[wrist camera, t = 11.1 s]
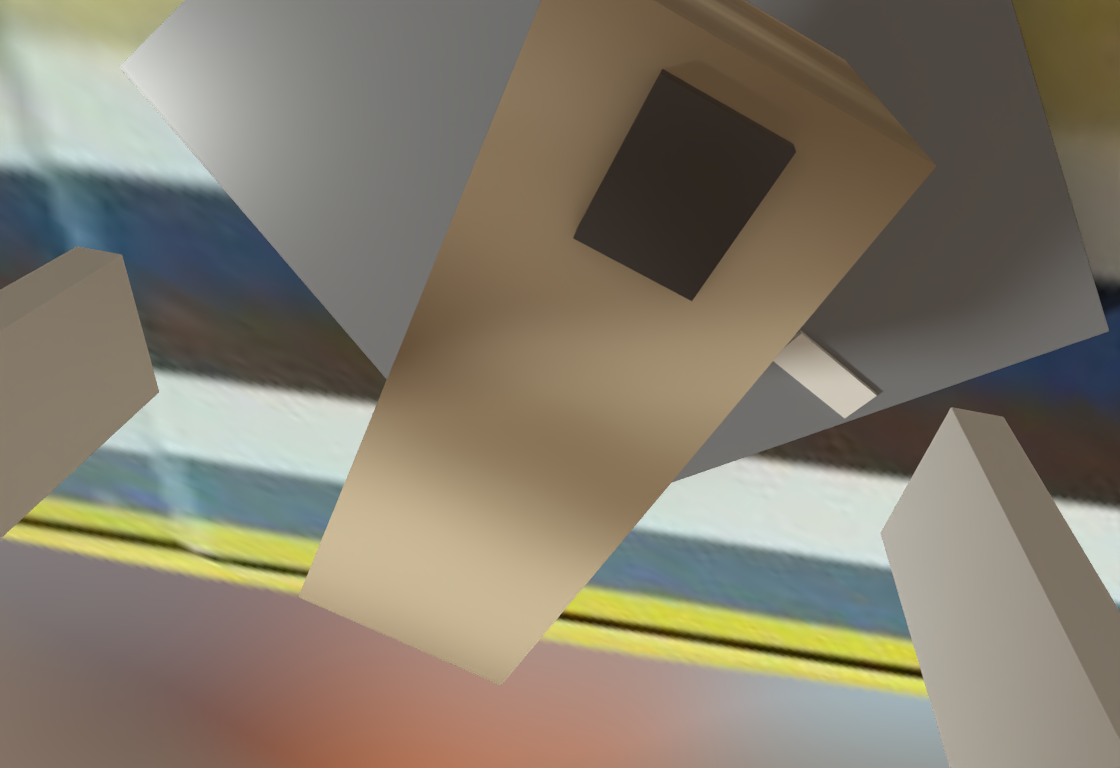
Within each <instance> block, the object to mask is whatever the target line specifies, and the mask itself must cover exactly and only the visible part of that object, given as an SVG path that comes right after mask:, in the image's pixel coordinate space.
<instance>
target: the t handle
mask: <svg viewBox="0 0 1120 768" xmlns="http://www.w3.org/2000/svg"><path fill="white" fill-rule="evenodd" d="M935 167H936V165H935V164H934V162H933V161H932V160H931V159H930V158H929V157H928V155H927V154H926V153H925V152H924V151H923V150H922V148H921V147H920V146H919V145H918V144H917V143H916V142H915V140H914V139H913V138H912V137H911V136H910V135H909V133H908V132H907V131H906V130H905V129H904V128H903V127H902V125H901V124H900V123H899V122H898V121H897V120H896V118H895V117H894V116H893V115H892V114H891V113H890V111H889V110H888V109H887V108H886V107H885V106H884V105H883V103H882V102H881V101H880V100H879V99H878V98H877V96H876V95H875V94H874V93H873V92H872V91H871V89H870V88H869V87H868V86H867V85H866V84H865V83H864V81H863V80H862V79H861V78H860V77H859V76H858V74H857V73H856V72H855V71H854V70H853V69H852V67H851V66H850V65H849V64H848V63H847V62H846V61H845V60H844V59H843V58H841V57H839V56H837V55H836V54H834V53H832V52H831V51H829V50H827V49H826V48H824V47H822V46H821V45H819V44H817V43H816V42H814V41H812V40H811V39H809V38H807V37H806V36H804V35H802V34H801V33H799V32H797V31H796V30H794V29H792V28H791V27H789V26H787V25H785V24H784V23H782V22H780V21H779V20H777V19H775V18H774V17H772V16H770V15H769V14H767V13H765V12H764V11H762V10H760V9H759V8H757V7H755V6H754V5H752V4H750V3H749V2H747V1H745V0H541V2H540V5H539V7H538V10H537V12H536V14H535V17H534V19H533V22H532V24H531V27H530V29H529V32H528V34H527V37H526V39H525V42H524V44H523V46H522V49H521V51H520V54H519V56H518V59H517V61H516V64H515V66H514V69H513V71H512V73H511V76H510V78H509V81H508V83H507V86H506V88H505V91H504V93H503V96H502V98H501V101H500V103H499V105H498V108H497V110H496V113H495V115H494V118H493V120H492V123H491V125H490V128H489V130H488V132H487V135H486V137H485V140H484V142H483V145H482V147H481V150H480V152H479V155H478V157H477V160H476V162H475V164H474V167H473V169H472V172H471V174H470V177H469V179H468V182H467V184H466V187H465V189H464V191H463V194H462V196H461V199H460V201H459V204H458V206H457V209H456V211H455V214H454V216H453V219H452V221H451V223H450V226H449V228H448V231H447V233H446V236H445V238H444V241H443V243H442V246H441V248H440V250H439V253H438V255H437V258H436V260H435V263H434V265H433V268H432V270H431V273H430V275H429V277H428V280H427V282H426V285H425V287H424V290H423V292H422V295H421V297H420V300H419V302H418V305H417V307H416V309H415V312H414V314H413V317H412V319H411V322H410V324H409V327H408V329H407V332H406V334H405V336H404V339H403V341H402V344H401V346H400V349H399V351H398V354H397V356H396V359H395V361H394V364H393V366H392V368H391V371H390V373H389V376H388V378H387V381H386V383H385V386H384V388H383V391H382V393H381V395H380V398H379V400H378V403H377V405H376V408H375V410H374V413H373V415H372V418H371V420H370V423H369V425H368V427H367V430H366V432H365V435H364V437H363V440H362V442H361V445H360V447H359V450H358V452H357V454H356V457H355V459H354V462H353V464H352V467H351V469H350V472H349V474H348V477H347V479H346V482H345V484H344V486H343V489H342V491H341V494H340V496H339V499H338V501H337V504H336V506H335V509H334V511H333V513H332V516H331V518H330V521H329V523H328V526H327V528H326V531H325V533H324V536H323V538H322V541H321V543H320V545H319V548H318V550H317V553H316V555H315V558H314V560H313V563H312V565H311V568H310V570H309V572H308V575H307V577H306V580H305V582H304V585H303V587H302V590H301V592H300V595H299V597H300V598H302V599H304V600H306V601H309V602H311V603H313V604H316V605H318V606H320V607H322V608H325V609H327V610H329V611H332V612H334V613H336V614H338V615H341V616H343V617H345V618H348V619H350V620H352V621H355V622H357V623H359V624H362V625H364V626H366V627H368V628H371V629H373V630H375V631H377V632H380V633H382V634H384V635H386V636H389V637H391V638H393V639H396V640H398V641H400V642H403V643H405V644H407V645H409V646H411V647H414V648H416V649H418V650H421V651H423V652H425V653H428V654H430V655H432V656H435V657H437V658H439V659H441V660H444V661H446V662H448V663H450V664H453V665H455V666H457V667H459V668H462V669H464V670H466V671H469V672H471V673H473V674H475V675H478V676H480V677H482V678H485V679H487V680H489V681H491V682H494V683H496V684H498V685H502V684H503V683H504V681H505V680H506V679H507V678H508V677H509V675H510V674H511V673H512V672H513V671H514V669H515V668H516V667H517V666H518V665H519V663H520V662H521V661H522V660H523V659H524V658H525V656H526V655H527V654H528V653H529V652H530V650H531V649H532V648H533V647H534V646H535V644H536V643H537V642H538V641H539V640H540V638H541V637H542V636H543V635H544V634H545V632H546V631H547V630H548V629H549V628H550V627H551V625H552V624H553V623H554V622H555V621H556V619H557V618H558V617H559V616H560V615H561V613H562V612H563V611H564V610H565V609H566V607H567V606H568V605H569V604H570V603H571V601H572V600H573V599H574V598H575V597H576V595H577V594H578V593H579V592H580V591H581V590H582V588H583V587H584V586H585V585H586V584H587V582H588V581H589V580H590V579H591V578H592V576H593V575H594V574H595V573H596V572H597V570H598V569H599V568H600V567H601V566H602V564H603V563H604V562H605V561H606V560H607V559H608V557H609V556H610V555H611V554H612V553H613V551H614V550H615V549H616V548H617V547H618V545H619V544H620V543H621V542H622V541H623V539H624V538H625V537H626V536H627V535H628V533H629V532H630V531H631V530H632V529H633V528H634V526H635V525H636V524H637V523H638V522H639V520H640V519H641V518H642V517H643V516H644V514H645V513H646V512H647V511H648V510H649V508H650V507H651V506H652V505H653V504H654V502H655V501H656V500H657V499H658V498H659V496H660V495H661V494H662V493H663V492H664V491H665V489H666V488H667V487H668V486H669V485H670V483H671V482H672V481H673V480H674V479H675V477H676V476H677V475H678V474H679V473H680V471H681V470H682V469H683V468H684V467H685V465H686V464H687V463H688V462H689V461H690V460H691V458H692V457H693V456H694V455H695V454H696V452H697V451H698V450H699V449H700V448H701V446H702V445H703V444H704V443H705V442H706V440H707V439H708V438H709V437H710V436H711V434H712V433H713V432H714V431H715V430H716V429H717V427H718V426H719V425H720V424H721V423H722V421H723V420H724V419H725V418H726V417H727V415H728V414H729V413H730V412H731V411H732V409H733V408H734V407H735V406H736V405H737V403H738V402H739V401H740V400H741V399H742V397H743V396H744V395H745V394H746V393H747V392H748V390H749V389H750V388H751V387H752V386H753V384H754V383H755V382H756V381H757V380H758V378H759V377H760V376H761V375H762V374H763V372H764V371H765V370H766V369H767V368H768V366H769V365H770V364H771V363H772V362H773V361H774V359H775V358H776V357H777V356H778V355H779V353H780V352H781V351H782V350H783V349H784V347H785V346H786V345H787V344H788V343H789V341H790V340H791V339H792V338H793V337H794V335H795V334H796V333H797V332H798V331H799V329H800V328H801V327H802V326H803V325H804V324H805V322H806V321H807V320H808V319H809V318H810V316H811V315H812V314H813V313H814V312H815V310H816V309H817V308H818V307H819V306H820V304H821V303H822V302H823V301H824V300H825V298H826V297H827V296H828V295H829V294H830V293H831V291H832V290H833V289H834V288H835V287H836V285H837V284H838V283H839V282H840V281H841V279H842V278H843V277H844V276H845V275H846V273H847V272H848V271H849V270H850V269H851V267H852V266H853V265H854V264H855V263H856V262H857V260H858V259H859V258H860V257H861V256H862V254H863V253H864V252H865V251H866V250H867V248H868V247H869V246H870V245H871V244H872V242H873V241H874V240H875V239H876V238H877V236H878V235H879V234H880V233H881V232H882V230H883V229H884V228H885V227H886V226H887V225H888V223H889V222H890V221H891V220H892V219H893V217H894V216H895V215H896V214H897V213H898V211H899V210H900V209H901V208H902V207H903V205H904V204H905V203H906V202H907V201H908V199H909V198H910V197H911V196H912V195H913V194H914V192H915V191H916V190H917V189H918V188H919V186H920V185H921V184H922V183H923V182H924V180H925V179H926V178H927V177H928V176H929V174H930V173H931V172H932V171H933V170H934V168H935Z"/></svg>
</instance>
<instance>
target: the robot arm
mask: <svg viewBox="0 0 1120 768" xmlns="http://www.w3.org/2000/svg"><path fill="white" fill-rule="evenodd" d="M157 393H159V390H158V386H157V382H156V379H155V375H154V371H153V368H152V364H151V360H150V357H149V353H148V349H147V345H146V342H145V338H144V334H143V331H142V327H141V323H140V320H139V316H138V312H137V309H136V305H135V301H134V297H133V294H132V290H131V286H130V283H129V279H128V275H127V272H126V268H125V264H124V261H123V257H122V255H120V254H115V253H110V252H104V251H99V250H93V249H88V248H82V247H75V248H74V249H72V250H70V251H68V252H67V253H65V254H63V255H61V256H59V257H58V258H56V259H54V260H52V261H51V262H49V263H47V264H45V265H43V266H42V267H40V268H38V269H36V270H35V271H33V272H31V273H29V274H28V275H26V276H24V277H22V278H20V279H19V280H17V281H15V282H13V283H12V284H10V285H8V286H6V287H5V288H3V289H1V290H0V539H1V538H2V537H3V536H4V535H5V534H6V533H7V532H8V531H9V530H10V529H11V528H12V527H14V526H15V525H16V524H17V523H18V522H19V521H20V520H21V519H22V518H23V517H24V516H25V515H27V514H28V513H29V512H30V511H31V510H32V509H33V508H34V507H35V506H36V505H37V504H38V503H40V502H41V501H42V500H43V499H44V498H45V497H46V496H47V495H48V494H49V493H50V492H51V491H53V490H54V489H55V488H56V487H57V486H58V485H59V484H60V483H61V482H62V481H63V480H64V479H66V478H67V477H68V476H69V475H70V474H71V473H72V472H73V471H74V470H75V469H76V468H77V467H78V466H80V465H81V464H82V463H83V462H84V461H85V460H86V459H87V458H88V457H89V456H90V455H91V454H93V453H94V452H95V451H96V450H97V449H98V448H99V447H100V446H101V445H102V444H103V443H104V442H106V441H107V440H108V439H109V438H110V437H111V436H112V435H113V434H114V433H115V432H116V431H117V430H119V429H120V428H121V427H122V426H123V425H124V424H125V423H126V422H127V421H128V420H129V419H130V418H132V417H133V416H134V415H135V414H136V413H137V412H138V411H139V410H140V409H141V408H142V407H143V406H145V405H146V404H147V403H148V402H149V401H150V400H151V399H152V398H153V397H154V396H155V395H156V394H157ZM881 536H882V540H883V543H884V546H885V550H886V553H887V557H888V560H889V563H890V567H891V570H892V574H893V577H894V580H895V584H896V587H897V591H898V594H899V597H900V601H901V604H902V608H903V611H904V614H905V618H906V621H907V624H908V628H909V631H910V635H911V638H912V641H913V645H914V648H915V652H916V655H917V658H918V662H919V665H920V669H921V672H922V675H923V679H924V682H925V686H926V689H927V692H928V696H929V699H930V702H931V706H932V709H933V713H934V716H935V719H936V723H937V726H938V729H939V733H940V736H941V740H942V743H943V747H944V750H945V753H946V757H947V760H948V763H949V767H950V768H1120V611H1119V610H1118V608H1117V606H1116V605H1115V603H1114V601H1113V600H1112V598H1111V596H1110V594H1109V593H1108V591H1107V589H1106V588H1105V586H1104V584H1103V583H1102V581H1101V579H1100V578H1099V576H1098V574H1097V573H1096V571H1095V569H1094V568H1093V566H1092V564H1091V563H1090V561H1089V559H1088V558H1087V556H1086V554H1085V553H1084V551H1083V549H1082V548H1081V546H1080V544H1079V543H1078V541H1077V539H1076V538H1075V536H1074V534H1073V533H1072V531H1071V529H1070V528H1069V526H1068V524H1067V523H1066V521H1065V519H1064V518H1063V516H1062V514H1061V513H1060V511H1059V509H1058V507H1057V506H1056V504H1055V502H1054V501H1053V499H1052V497H1051V496H1050V494H1049V492H1048V491H1047V489H1046V487H1045V486H1044V484H1043V482H1042V481H1041V479H1040V477H1039V476H1038V474H1037V472H1036V471H1035V469H1034V467H1033V466H1032V464H1031V462H1030V461H1029V459H1028V457H1027V456H1026V454H1025V452H1024V451H1023V449H1022V447H1021V446H1020V444H1019V442H1018V441H1017V439H1016V437H1015V436H1014V434H1013V432H1012V431H1011V429H1010V427H1009V426H1008V424H1007V422H1006V420H1005V419H1004V417H1001V416H996V415H990V414H985V413H979V412H974V411H968V410H963V409H958V408H952V407H951V409H950V410H949V412H948V414H947V416H946V417H945V419H944V421H943V423H942V425H941V426H940V428H939V430H938V432H937V433H936V435H935V437H934V439H933V441H932V442H931V444H930V446H929V448H928V449H927V451H926V453H925V455H924V457H923V458H922V460H921V462H920V464H919V466H918V467H917V469H916V471H915V473H914V474H913V476H912V478H911V480H910V482H909V483H908V485H907V487H906V489H905V490H904V492H903V494H902V496H901V498H900V499H899V501H898V503H897V505H896V506H895V508H894V510H893V512H892V514H891V515H890V517H889V519H888V521H887V522H886V524H885V526H884V528H883V530H882V531H881Z"/></svg>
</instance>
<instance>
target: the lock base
mask: <svg viewBox="0 0 1120 768" xmlns="http://www.w3.org/2000/svg"><path fill="white" fill-rule="evenodd" d="M745 1H747V2H749V3H750V4H752V5H754V6H755V7H757V8H759V9H760V10H762V11H764V12H765V13H767V14H769V15H770V16H772V17H774V18H775V19H777V20H779V21H780V22H782V23H784V24H785V25H787V26H789V27H791V28H792V29H794V30H796V31H797V32H799V33H801V34H802V35H804V36H806V37H807V38H809V39H811V40H812V41H814V42H816V43H817V44H819V45H821V46H822V47H824V48H826V49H827V50H829V51H831V52H832V53H834V54H836V55H837V56H839V57H841V58H843V59H844V60H845V61H846V62H847V63H848V64H849V65H850V66H851V67H852V69H853V70H854V71H855V72H856V73H857V74H858V76H859V77H860V78H861V79H862V80H863V81H864V83H865V84H866V85H867V86H868V87H869V88H870V89H871V91H872V92H873V93H874V94H875V95H876V96H877V98H878V99H879V100H880V101H881V102H882V103H883V105H884V106H885V107H886V108H887V109H888V110H889V111H890V113H891V114H892V115H893V116H894V117H895V118H896V120H897V121H898V122H899V123H900V124H901V125H902V127H903V128H904V129H905V130H906V131H907V132H908V133H909V135H910V136H911V137H912V138H913V139H914V140H915V142H916V143H917V144H918V145H919V146H920V147H921V148H922V150H923V151H924V152H925V153H926V154H927V155H928V157H929V158H930V159H931V160H932V161H933V162H934V164H935V165H936V167H935V168H934V170H933V171H932V172H931V173H930V174H929V176H928V177H927V178H926V179H925V180H924V182H923V183H922V184H921V185H920V186H919V188H918V189H917V190H916V191H915V192H914V194H913V195H912V196H911V197H910V198H909V199H908V201H907V202H906V203H905V204H904V205H903V207H902V208H901V209H900V210H899V211H898V213H897V214H896V215H895V216H894V217H893V219H892V220H891V221H890V222H889V223H888V225H887V226H886V227H885V228H884V229H883V230H882V232H881V233H880V234H879V235H878V236H877V238H876V239H875V240H874V241H873V242H872V244H871V245H870V246H869V247H868V248H867V250H866V251H865V252H864V253H863V254H862V256H861V257H860V258H859V259H858V260H857V262H856V263H855V264H854V265H853V266H852V267H851V269H850V270H849V271H848V272H847V273H846V275H845V276H844V277H843V278H842V279H841V281H840V282H839V283H838V284H837V285H836V287H835V288H834V289H833V290H832V291H831V293H830V294H829V295H828V296H827V297H826V298H825V300H824V301H823V302H822V303H821V304H820V306H819V307H818V308H817V309H816V310H815V312H814V313H813V314H812V315H811V316H810V318H809V319H808V320H807V321H806V322H805V324H804V325H803V326H802V327H801V328H800V329H799V331H798V332H797V333H796V334H795V335H794V337H793V338H792V339H791V340H790V341H789V343H788V344H787V345H786V346H785V347H784V349H783V350H782V351H781V352H780V353H779V355H778V356H777V357H776V358H775V359H774V361H773V362H772V363H771V364H770V365H769V366H768V368H767V369H766V370H765V371H764V372H763V374H762V375H761V376H760V377H759V378H758V380H757V381H756V382H755V383H754V384H753V386H752V387H751V388H750V389H749V390H748V392H747V393H746V394H745V395H744V396H743V397H742V399H741V400H740V401H739V402H738V403H737V405H736V406H735V407H734V408H733V409H732V411H731V412H730V413H729V414H728V415H727V417H726V418H725V419H724V420H723V421H722V423H721V424H720V425H719V426H718V427H717V429H716V430H715V431H714V432H713V433H712V434H711V436H710V437H709V438H708V439H707V440H706V442H705V443H704V444H703V445H702V446H701V448H700V449H699V450H698V451H697V452H696V454H695V455H694V456H693V457H692V458H691V460H690V461H689V462H688V463H687V464H686V465H685V467H684V468H683V469H682V470H681V471H680V473H679V474H678V475H677V476H676V477H675V479H674V480H673V481H672V482H674V481H677V480H680V479H683V478H686V477H689V476H692V475H695V474H698V473H700V472H703V471H706V470H709V469H712V468H715V467H718V466H721V465H724V464H726V463H729V462H732V461H735V460H738V459H741V458H744V457H747V456H750V455H752V454H755V453H758V452H761V451H764V450H767V449H770V448H773V447H776V446H778V445H781V444H784V443H787V442H790V441H793V440H796V439H799V438H802V437H804V436H807V435H810V434H813V433H816V432H819V431H822V430H825V429H828V428H831V427H833V426H836V425H839V424H842V423H845V422H848V421H851V420H854V419H857V418H859V417H862V416H865V415H868V414H871V413H874V412H877V411H880V410H883V409H885V408H888V407H891V406H894V405H897V404H900V403H903V402H906V401H909V400H911V399H914V398H917V397H920V396H923V395H926V394H929V393H932V392H935V391H937V390H940V389H943V388H946V387H949V386H952V385H955V384H958V383H961V382H963V381H966V380H969V379H972V378H975V377H978V376H981V375H984V374H987V373H989V372H992V371H995V370H998V369H1001V368H1004V367H1007V366H1010V365H1013V364H1015V363H1018V362H1021V361H1024V360H1027V359H1030V358H1033V357H1036V356H1039V355H1041V354H1044V353H1047V352H1050V351H1053V350H1056V349H1059V348H1062V347H1065V346H1067V345H1070V344H1073V343H1076V342H1079V341H1082V340H1085V339H1088V338H1091V337H1093V336H1096V335H1099V334H1102V333H1105V332H1108V331H1109V330H1108V326H1107V323H1106V319H1105V316H1104V313H1103V309H1102V306H1101V302H1100V299H1099V295H1098V292H1097V289H1096V285H1095V282H1094V278H1093V275H1092V272H1091V268H1090V265H1089V261H1088V258H1087V255H1086V251H1085V248H1084V244H1083V241H1082V238H1081V234H1080V231H1079V227H1078V224H1077V221H1076V217H1075V214H1074V210H1073V207H1072V204H1071V200H1070V197H1069V193H1068V190H1067V187H1066V183H1065V180H1064V176H1063V173H1062V170H1061V166H1060V163H1059V159H1058V156H1057V153H1056V149H1055V146H1054V142H1053V139H1052V136H1051V132H1050V129H1049V125H1048V122H1047V119H1046V115H1045V112H1044V108H1043V105H1042V102H1041V98H1040V95H1039V91H1038V88H1037V85H1036V81H1035V78H1034V74H1033V71H1032V68H1031V64H1030V61H1029V57H1028V54H1027V51H1026V47H1025V44H1024V40H1023V37H1022V34H1021V30H1020V27H1019V23H1018V20H1017V17H1016V13H1015V10H1014V6H1013V3H1012V0H745ZM540 2H541V0H185V1H184V2H183V3H182V4H181V5H180V6H179V7H178V8H177V9H176V10H175V11H174V12H173V13H172V14H171V15H170V16H169V17H168V18H167V19H166V20H165V21H164V22H163V23H162V24H161V25H160V26H159V27H158V28H157V29H156V30H155V31H154V32H153V33H152V34H151V35H150V36H149V37H148V38H147V39H146V40H145V41H144V42H143V43H142V44H141V45H140V46H139V48H138V49H137V50H136V51H135V52H134V53H133V54H132V55H131V56H130V57H129V58H128V59H127V60H126V61H125V62H124V63H123V64H122V65H121V66H120V69H121V70H122V71H123V72H124V73H125V74H126V76H127V77H128V78H129V79H130V80H131V81H132V83H133V84H134V85H135V86H136V87H137V88H138V90H139V91H140V92H141V93H142V94H143V95H144V97H145V98H146V99H147V100H148V101H149V102H150V104H151V105H152V106H153V107H154V108H155V109H156V111H157V112H158V113H159V114H160V115H161V116H162V118H163V119H164V120H165V121H166V122H167V123H168V125H169V126H170V127H171V128H172V129H173V130H174V132H175V133H176V134H177V135H178V136H179V137H180V139H181V140H182V141H183V142H184V143H185V144H186V146H187V147H188V148H189V149H190V150H191V151H192V153H193V154H194V155H195V156H196V157H197V158H198V160H199V161H200V162H201V163H202V164H203V165H204V167H205V168H206V169H207V170H208V171H209V172H210V174H211V175H212V176H213V177H214V178H215V179H216V181H217V182H218V183H219V184H220V185H221V186H222V188H223V189H224V190H225V191H226V192H227V193H228V195H229V196H230V197H231V198H232V199H233V200H234V202H235V203H236V204H237V205H238V206H239V207H240V209H241V210H242V211H243V212H244V213H245V214H246V216H247V217H248V218H249V219H250V220H251V221H252V223H253V224H254V225H255V226H256V227H257V228H258V230H259V231H260V232H261V233H262V234H263V235H264V237H265V238H266V239H267V240H268V241H269V242H270V244H271V245H272V246H273V247H274V248H275V249H276V251H277V252H278V253H279V254H280V255H281V256H282V258H283V259H284V260H285V261H286V262H287V263H288V265H289V266H290V267H291V268H292V269H293V270H294V272H295V273H296V274H297V275H298V276H299V277H300V279H301V280H302V281H303V282H304V283H305V284H306V286H307V287H308V288H309V289H310V290H311V291H312V293H313V294H314V295H315V296H316V297H317V298H318V300H319V301H320V302H321V303H322V304H323V305H324V307H325V308H326V309H327V310H328V311H329V312H330V314H331V315H332V316H333V317H334V318H335V319H336V321H337V322H338V323H339V324H340V325H341V326H342V328H343V329H344V330H345V331H346V332H347V333H348V335H349V336H350V337H351V338H352V339H353V340H354V342H355V343H356V344H357V345H358V346H359V347H360V349H361V350H362V351H363V352H364V353H365V354H366V356H367V357H368V358H369V359H370V360H371V361H372V363H373V364H374V365H375V366H376V367H377V368H378V370H379V371H380V372H381V373H382V374H383V375H384V377H385V378H386V379H387V378H388V376H389V373H390V371H391V368H392V366H393V364H394V361H395V359H396V356H397V354H398V351H399V349H400V346H401V344H402V341H403V339H404V336H405V334H406V332H407V329H408V327H409V324H410V322H411V319H412V317H413V314H414V312H415V309H416V307H417V305H418V302H419V300H420V297H421V295H422V292H423V290H424V287H425V285H426V282H427V280H428V277H429V275H430V273H431V270H432V268H433V265H434V263H435V260H436V258H437V255H438V253H439V250H440V248H441V246H442V243H443V241H444V238H445V236H446V233H447V231H448V228H449V226H450V223H451V221H452V219H453V216H454V214H455V211H456V209H457V206H458V204H459V201H460V199H461V196H462V194H463V191H464V189H465V187H466V184H467V182H468V179H469V177H470V174H471V172H472V169H473V167H474V164H475V162H476V160H477V157H478V155H479V152H480V150H481V147H482V145H483V142H484V140H485V137H486V135H487V132H488V130H489V128H490V125H491V123H492V120H493V118H494V115H495V113H496V110H497V108H498V105H499V103H500V101H501V98H502V96H503V93H504V91H505V88H506V86H507V83H508V81H509V78H510V76H511V73H512V71H513V69H514V66H515V64H516V61H517V59H518V56H519V54H520V51H521V49H522V46H523V44H524V42H525V39H526V37H527V34H528V32H529V29H530V27H531V24H532V22H533V19H534V17H535V14H536V12H537V10H538V7H539V5H540ZM672 482H671V483H672Z"/></svg>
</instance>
